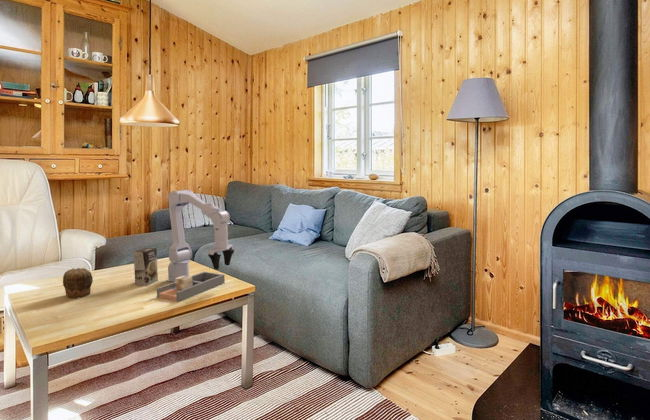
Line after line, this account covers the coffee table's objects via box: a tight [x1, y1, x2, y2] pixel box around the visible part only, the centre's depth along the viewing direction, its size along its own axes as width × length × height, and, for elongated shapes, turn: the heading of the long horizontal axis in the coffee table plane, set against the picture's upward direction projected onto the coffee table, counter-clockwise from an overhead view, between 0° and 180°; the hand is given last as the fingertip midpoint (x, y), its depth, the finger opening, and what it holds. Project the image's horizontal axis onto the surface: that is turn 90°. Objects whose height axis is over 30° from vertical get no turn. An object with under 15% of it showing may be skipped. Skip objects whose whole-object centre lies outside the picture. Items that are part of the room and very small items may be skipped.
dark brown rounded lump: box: [62, 267, 94, 299], centre depth 174 cm, size 11×11×12 cm
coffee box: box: [133, 247, 159, 287], centre depth 193 cm, size 9×6×16 cm
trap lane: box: [156, 271, 226, 303], centre depth 183 cm, size 12×29×4 cm, turn 155°
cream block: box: [175, 275, 193, 290], centre depth 178 cm, size 5×5×5 cm
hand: (221, 267), depth 185 cm, fingers open, 7 cm apart
